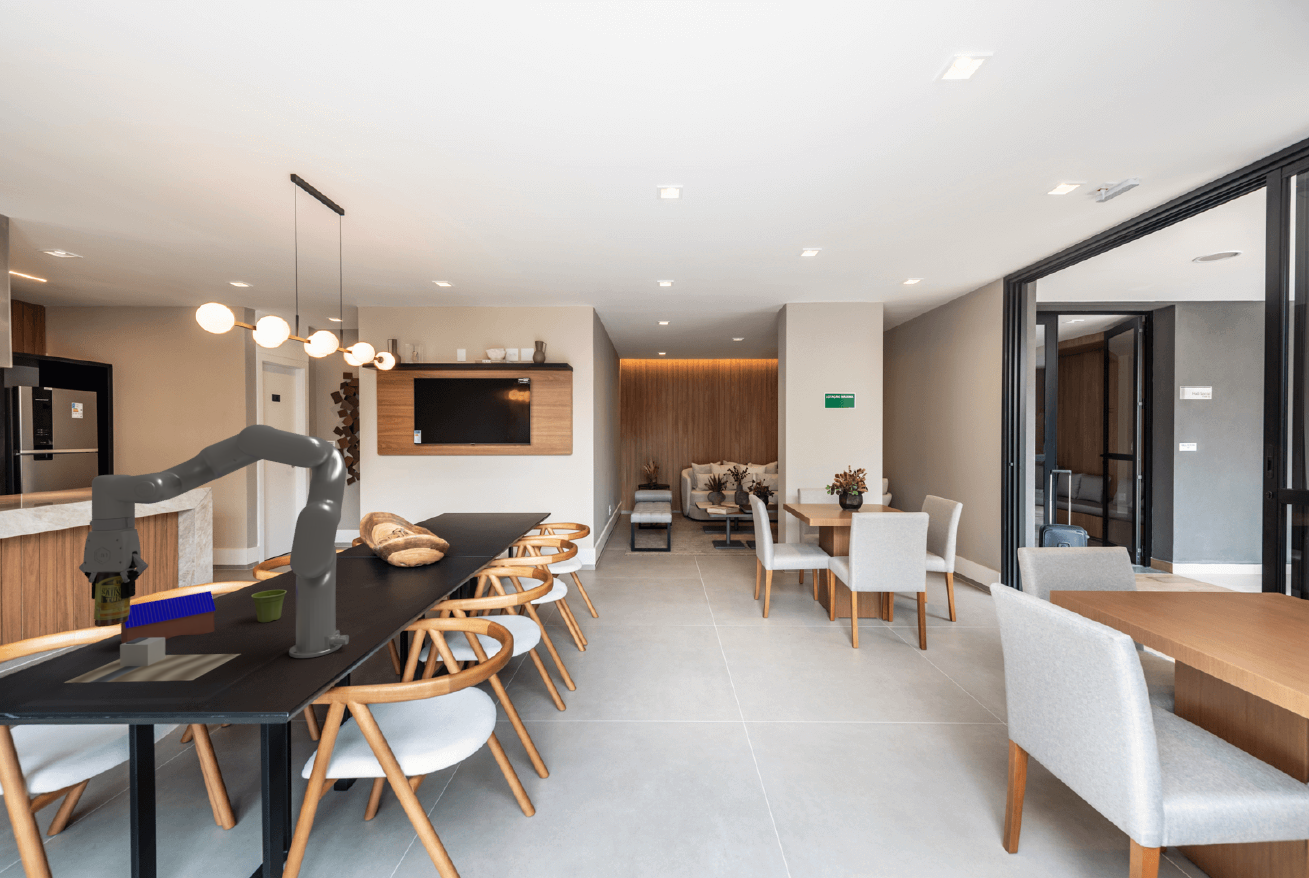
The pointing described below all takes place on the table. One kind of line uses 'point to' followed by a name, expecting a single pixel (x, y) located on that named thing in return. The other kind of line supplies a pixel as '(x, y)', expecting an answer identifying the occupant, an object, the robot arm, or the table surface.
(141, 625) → the house
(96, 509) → the robot arm
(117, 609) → the sauce bottle
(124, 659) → the light grey block
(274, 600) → the plant pot
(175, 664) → the board
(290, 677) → the table surface
